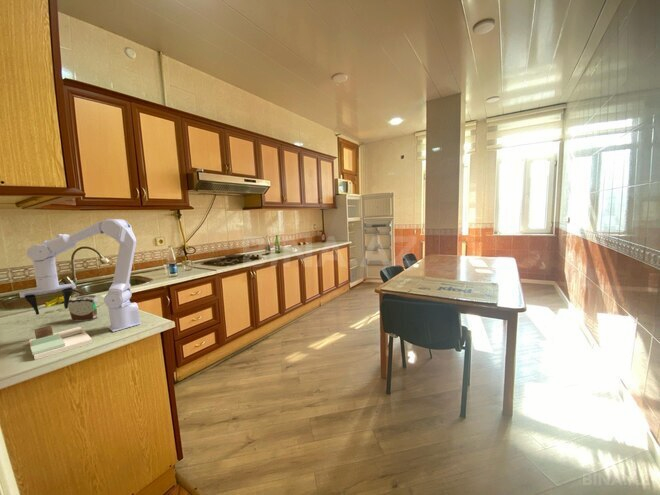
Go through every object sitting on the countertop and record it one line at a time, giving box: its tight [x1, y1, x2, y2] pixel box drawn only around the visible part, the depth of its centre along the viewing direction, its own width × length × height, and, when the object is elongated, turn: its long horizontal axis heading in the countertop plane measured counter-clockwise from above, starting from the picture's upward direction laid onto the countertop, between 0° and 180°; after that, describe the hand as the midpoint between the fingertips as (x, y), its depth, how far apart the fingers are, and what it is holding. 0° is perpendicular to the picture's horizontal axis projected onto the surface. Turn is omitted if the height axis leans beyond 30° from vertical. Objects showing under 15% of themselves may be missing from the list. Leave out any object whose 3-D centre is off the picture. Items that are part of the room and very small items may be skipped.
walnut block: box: [34, 325, 54, 339], centre depth 96 cm, size 4×4×6 cm
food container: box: [67, 294, 99, 322], centre depth 122 cm, size 12×6×10 cm, turn 92°
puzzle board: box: [28, 326, 93, 361], centre depth 97 cm, size 14×20×1 cm
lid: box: [29, 334, 65, 356], centre depth 90 cm, size 8×8×3 cm
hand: (52, 310), depth 102 cm, fingers open, 7 cm apart
